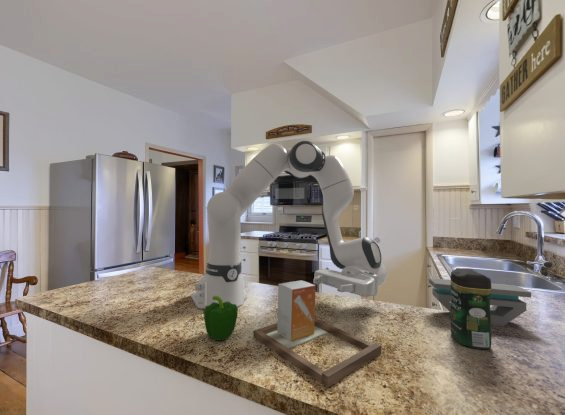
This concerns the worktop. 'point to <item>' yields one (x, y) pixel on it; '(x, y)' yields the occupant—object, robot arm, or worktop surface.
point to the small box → (296, 309)
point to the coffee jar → (471, 308)
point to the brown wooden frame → (283, 345)
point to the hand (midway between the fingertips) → (326, 284)
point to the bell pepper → (220, 319)
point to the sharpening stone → (501, 298)
